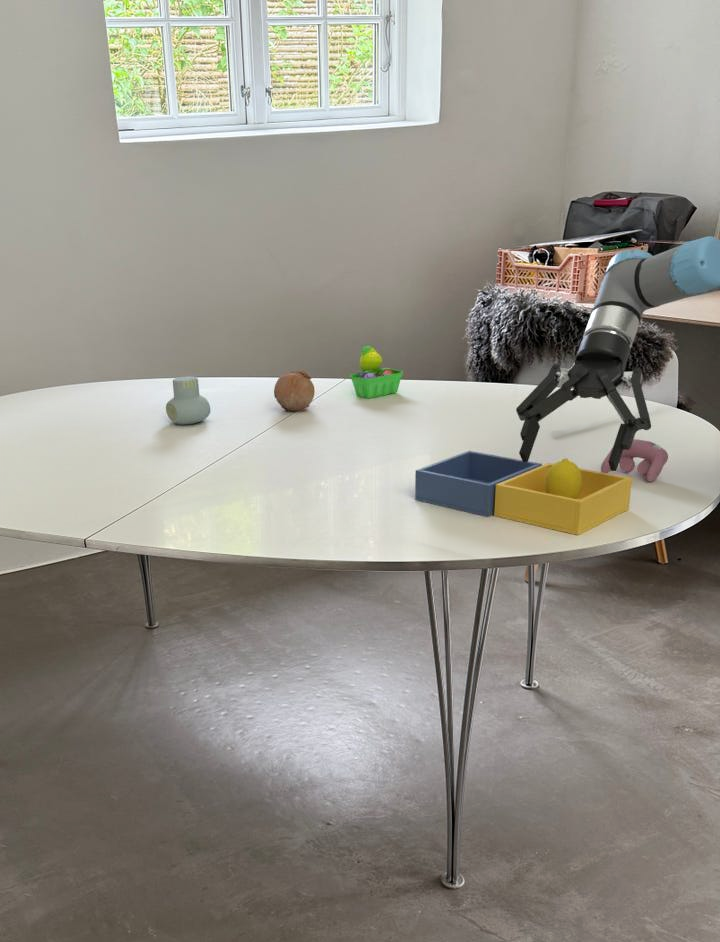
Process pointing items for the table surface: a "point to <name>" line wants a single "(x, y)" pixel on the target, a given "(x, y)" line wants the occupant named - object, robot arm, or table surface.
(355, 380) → the fruit basket
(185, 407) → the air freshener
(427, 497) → the blue bin
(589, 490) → the yellow bin
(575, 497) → the lemon
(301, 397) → the onion
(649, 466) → the video game controller
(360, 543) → the table surface
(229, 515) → the table surface
